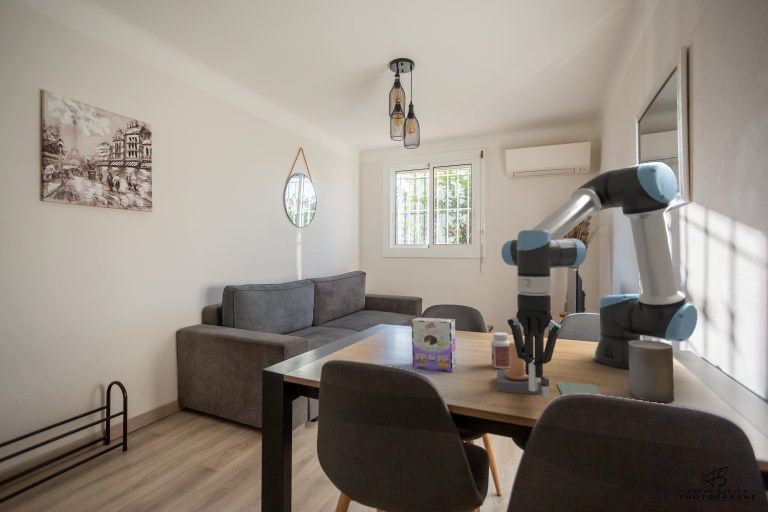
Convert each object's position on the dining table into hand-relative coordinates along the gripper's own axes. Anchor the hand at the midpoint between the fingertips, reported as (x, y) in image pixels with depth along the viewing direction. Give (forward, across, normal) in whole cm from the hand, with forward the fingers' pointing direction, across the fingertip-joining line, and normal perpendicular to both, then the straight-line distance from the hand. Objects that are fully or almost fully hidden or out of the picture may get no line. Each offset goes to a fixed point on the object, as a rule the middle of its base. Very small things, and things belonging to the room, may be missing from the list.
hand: (534, 389), depth 93 cm
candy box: (+6, -39, +9) cm, 40 cm away
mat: (+5, +4, +19) cm, 20 cm away
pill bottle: (+6, -23, +25) cm, 35 cm away
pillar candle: (+5, +18, +29) cm, 35 cm away
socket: (+5, -10, +12) cm, 17 cm away
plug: (+5, -10, +12) cm, 17 cm away
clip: (+2, -1, +5) cm, 6 cm away
